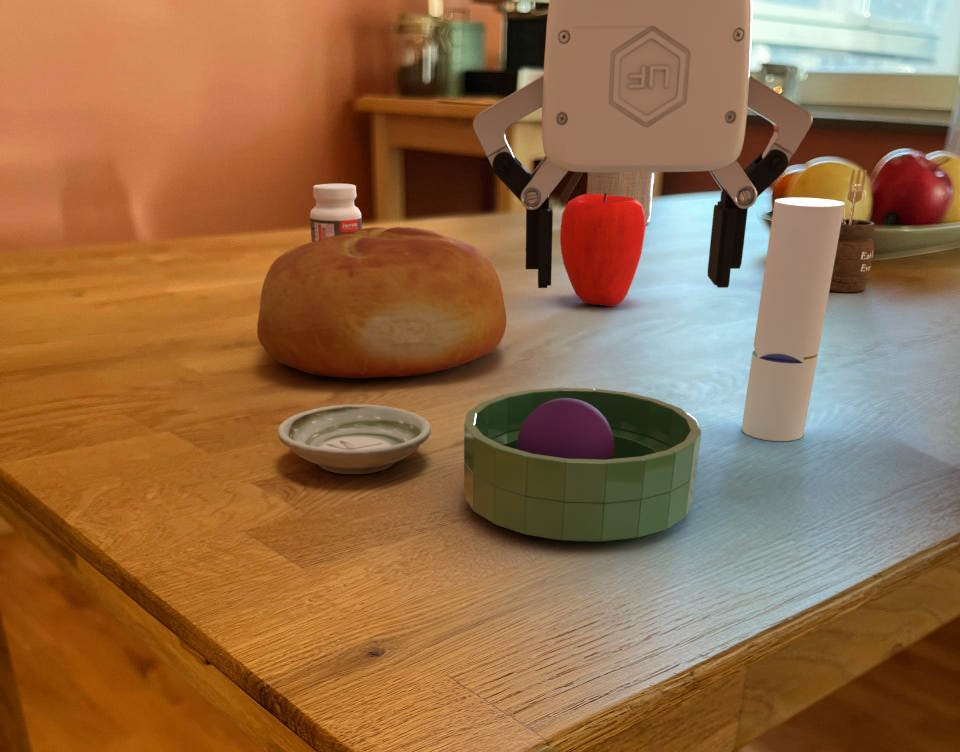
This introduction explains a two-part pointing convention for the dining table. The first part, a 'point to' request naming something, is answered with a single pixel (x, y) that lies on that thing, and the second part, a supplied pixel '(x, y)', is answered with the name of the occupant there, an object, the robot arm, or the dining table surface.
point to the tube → (791, 316)
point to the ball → (567, 431)
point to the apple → (602, 246)
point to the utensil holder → (853, 246)
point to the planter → (624, 187)
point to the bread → (381, 304)
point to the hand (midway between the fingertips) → (630, 282)
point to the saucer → (354, 436)
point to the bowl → (582, 469)
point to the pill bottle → (334, 211)
